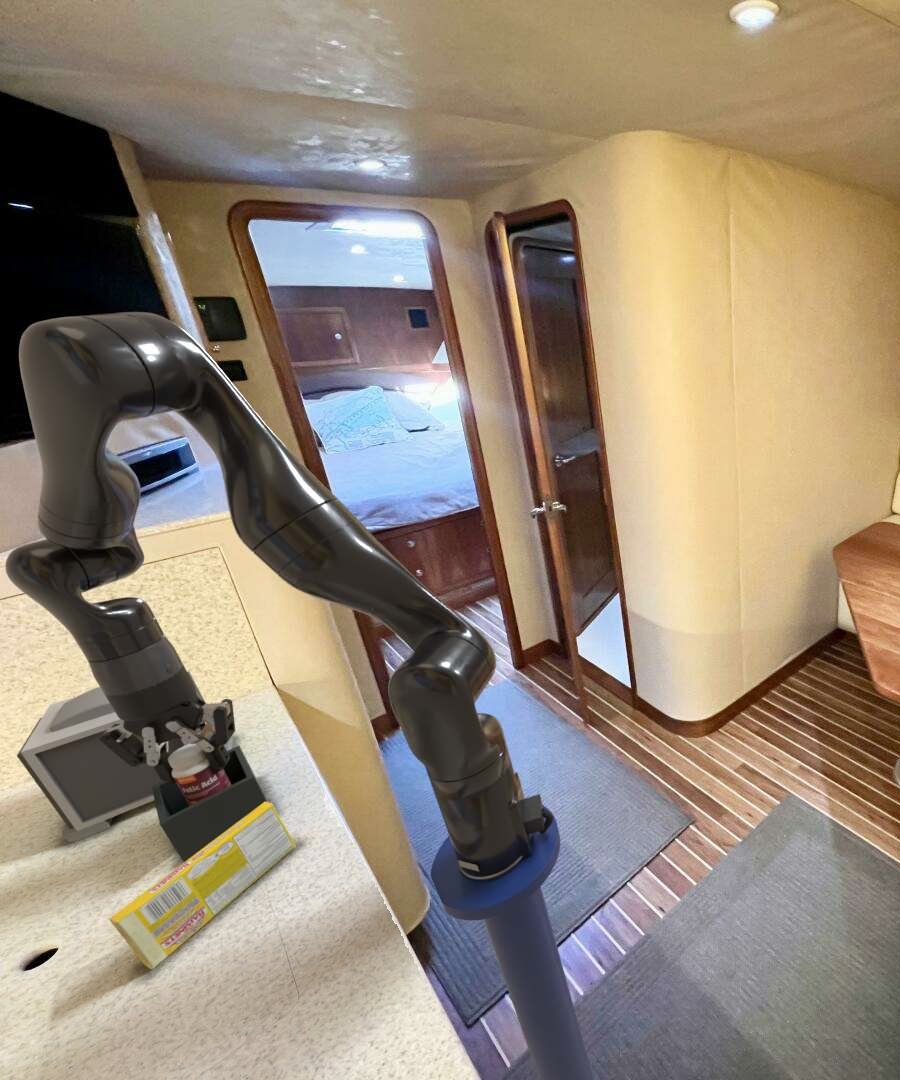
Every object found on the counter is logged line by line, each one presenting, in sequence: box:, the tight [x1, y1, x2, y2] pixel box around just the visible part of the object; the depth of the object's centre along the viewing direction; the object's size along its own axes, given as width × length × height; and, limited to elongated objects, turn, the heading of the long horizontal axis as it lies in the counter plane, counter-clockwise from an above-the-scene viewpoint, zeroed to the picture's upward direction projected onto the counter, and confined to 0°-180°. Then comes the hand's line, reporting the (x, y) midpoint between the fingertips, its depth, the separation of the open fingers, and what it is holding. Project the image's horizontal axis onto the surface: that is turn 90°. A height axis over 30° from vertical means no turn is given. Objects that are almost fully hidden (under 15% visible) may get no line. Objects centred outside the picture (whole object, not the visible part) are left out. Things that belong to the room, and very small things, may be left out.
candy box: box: [108, 801, 297, 970], centre depth 66 cm, size 16×2×8 cm, turn 161°
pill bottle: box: [168, 744, 231, 806], centre depth 76 cm, size 5×5×8 cm
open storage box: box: [152, 745, 268, 863], centre depth 78 cm, size 10×10×8 cm
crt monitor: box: [16, 671, 234, 844], centre depth 84 cm, size 18×13×18 cm
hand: (198, 772), depth 76 cm, fingers closed on pill bottle, 4 cm apart
